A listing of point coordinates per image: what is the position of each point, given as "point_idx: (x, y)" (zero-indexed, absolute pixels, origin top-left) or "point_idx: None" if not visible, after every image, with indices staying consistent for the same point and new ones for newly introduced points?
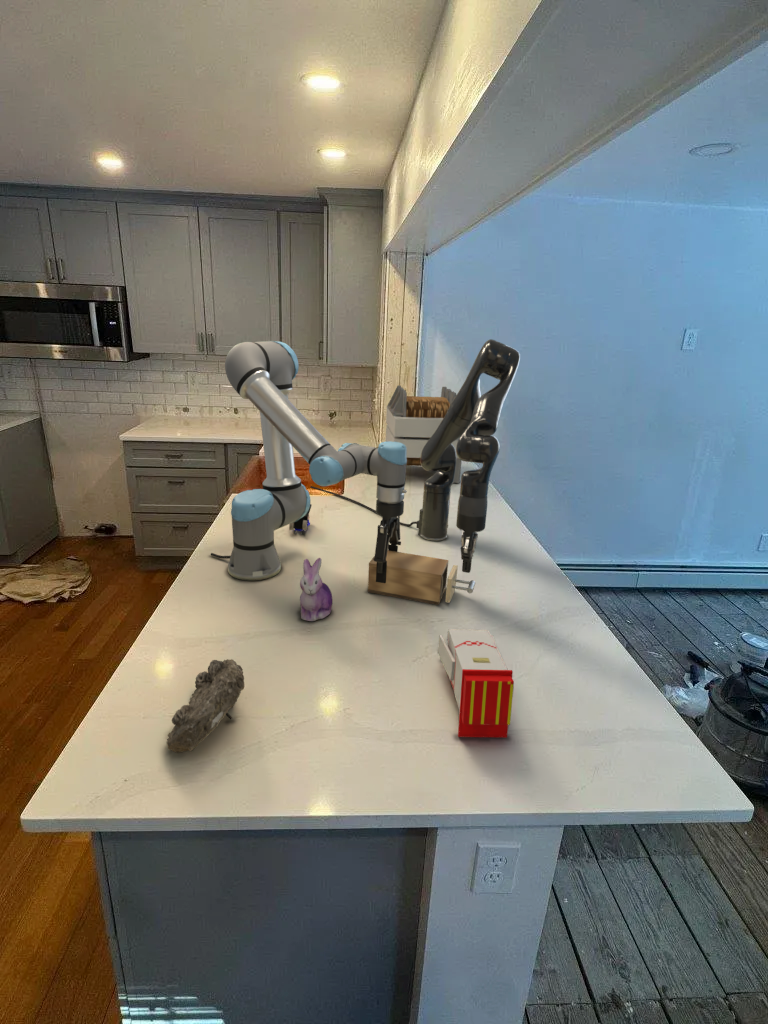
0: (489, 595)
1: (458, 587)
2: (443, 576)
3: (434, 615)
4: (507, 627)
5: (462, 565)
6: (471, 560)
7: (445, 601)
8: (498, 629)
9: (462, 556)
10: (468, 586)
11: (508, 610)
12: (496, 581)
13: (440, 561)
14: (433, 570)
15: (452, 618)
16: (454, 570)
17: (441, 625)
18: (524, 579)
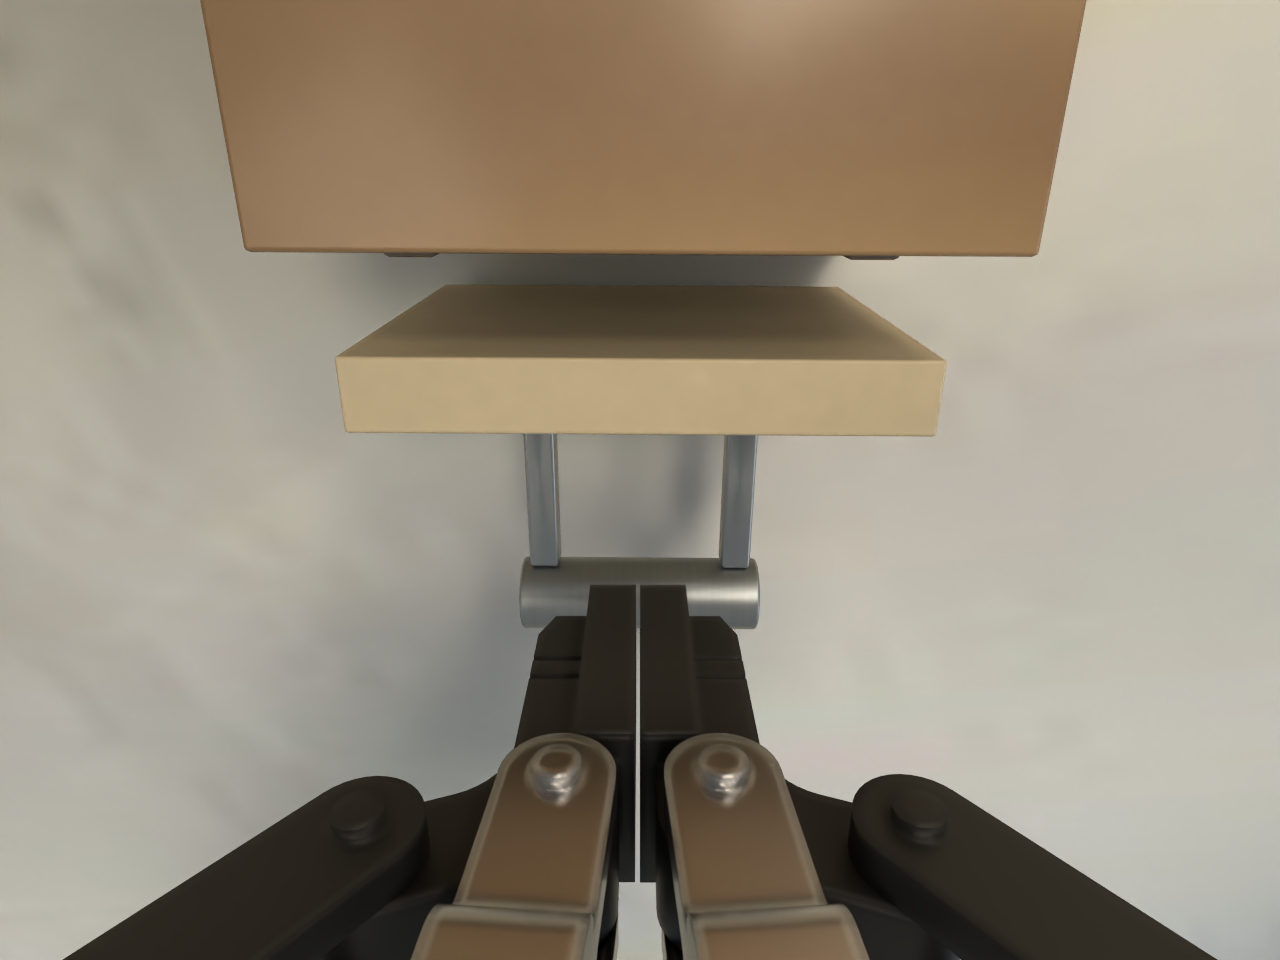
0: (832, 654)
1: (527, 460)
2: None
3: (181, 209)
4: None
5: (583, 642)
6: (646, 857)
7: (443, 287)
8: (264, 767)
9: (163, 927)
10: (590, 576)
11: None
12: (1154, 682)
13: (913, 89)
14: (374, 27)
15: (228, 402)
16: (709, 416)
17: (34, 323)
18: (1231, 878)
